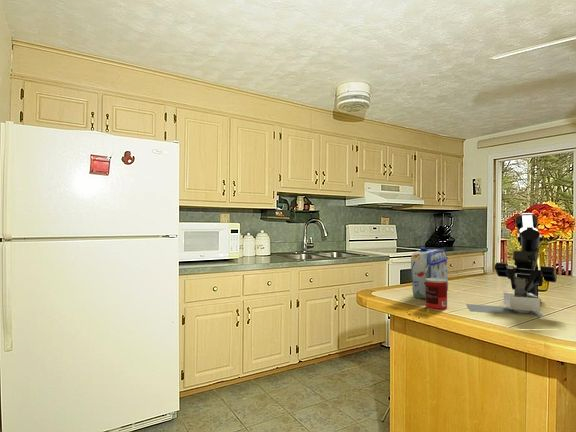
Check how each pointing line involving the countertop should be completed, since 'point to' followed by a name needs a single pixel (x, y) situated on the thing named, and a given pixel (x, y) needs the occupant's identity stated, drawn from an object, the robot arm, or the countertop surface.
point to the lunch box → (427, 269)
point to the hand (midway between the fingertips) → (519, 289)
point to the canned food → (436, 293)
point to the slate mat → (500, 310)
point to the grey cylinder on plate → (521, 297)
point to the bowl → (521, 311)
